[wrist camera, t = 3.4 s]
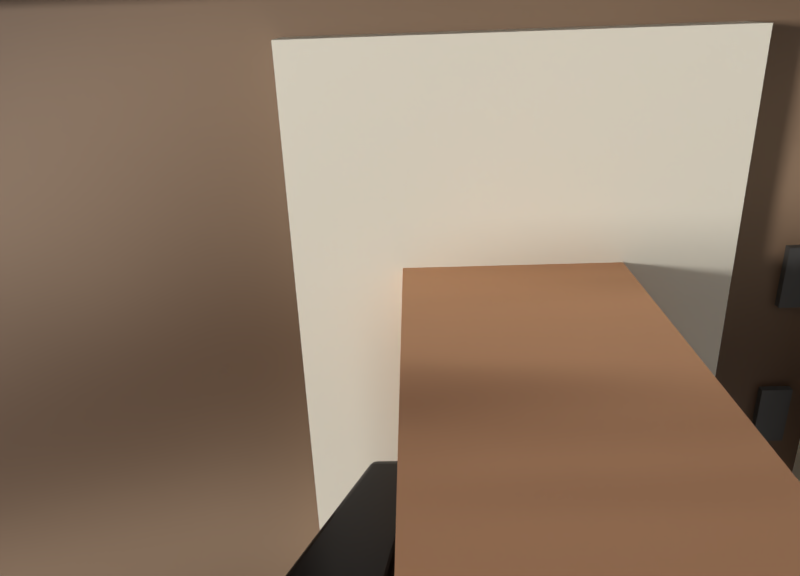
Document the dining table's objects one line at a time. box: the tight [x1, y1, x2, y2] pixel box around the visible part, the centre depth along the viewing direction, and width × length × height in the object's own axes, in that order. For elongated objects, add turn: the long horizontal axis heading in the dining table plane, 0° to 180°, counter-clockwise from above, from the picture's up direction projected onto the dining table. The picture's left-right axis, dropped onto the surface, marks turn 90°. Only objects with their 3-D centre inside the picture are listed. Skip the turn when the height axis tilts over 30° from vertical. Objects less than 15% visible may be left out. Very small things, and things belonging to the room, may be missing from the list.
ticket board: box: [0, 0, 800, 576], centre depth 10 cm, size 14×22×2 cm, turn 92°
